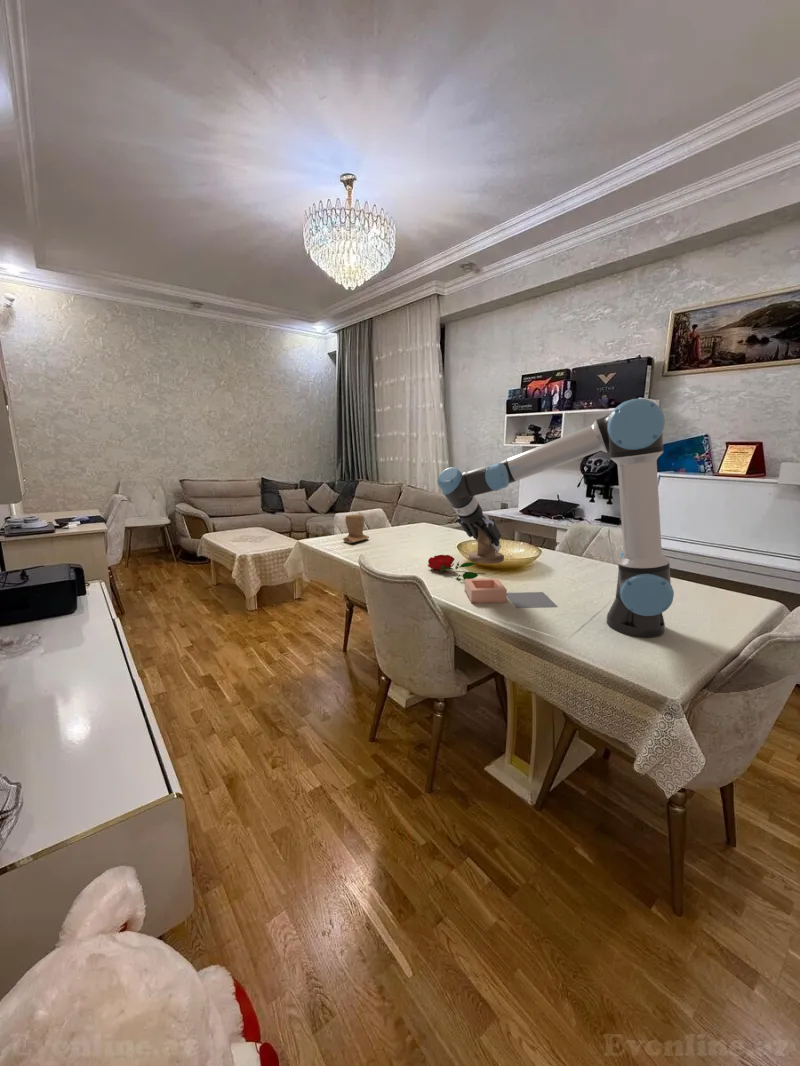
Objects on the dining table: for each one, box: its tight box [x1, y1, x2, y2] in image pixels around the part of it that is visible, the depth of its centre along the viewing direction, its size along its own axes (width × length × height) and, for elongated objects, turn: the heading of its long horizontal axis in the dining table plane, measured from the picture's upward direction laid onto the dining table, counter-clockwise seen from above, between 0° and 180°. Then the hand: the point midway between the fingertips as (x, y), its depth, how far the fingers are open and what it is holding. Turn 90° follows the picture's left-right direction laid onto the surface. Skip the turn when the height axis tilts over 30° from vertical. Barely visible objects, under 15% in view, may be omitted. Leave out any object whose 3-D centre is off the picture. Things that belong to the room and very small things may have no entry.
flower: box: [427, 554, 487, 581], centre depth 174 cm, size 9×10×30 cm
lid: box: [468, 529, 505, 565], centre depth 148 cm, size 12×12×11 cm
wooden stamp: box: [342, 513, 370, 544], centre depth 234 cm, size 15×12×15 cm
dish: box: [464, 577, 508, 604], centre depth 152 cm, size 12×12×5 cm
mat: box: [506, 591, 559, 609], centre depth 149 cm, size 14×14×1 cm
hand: (492, 548), depth 151 cm, fingers closed on lid, 4 cm apart
